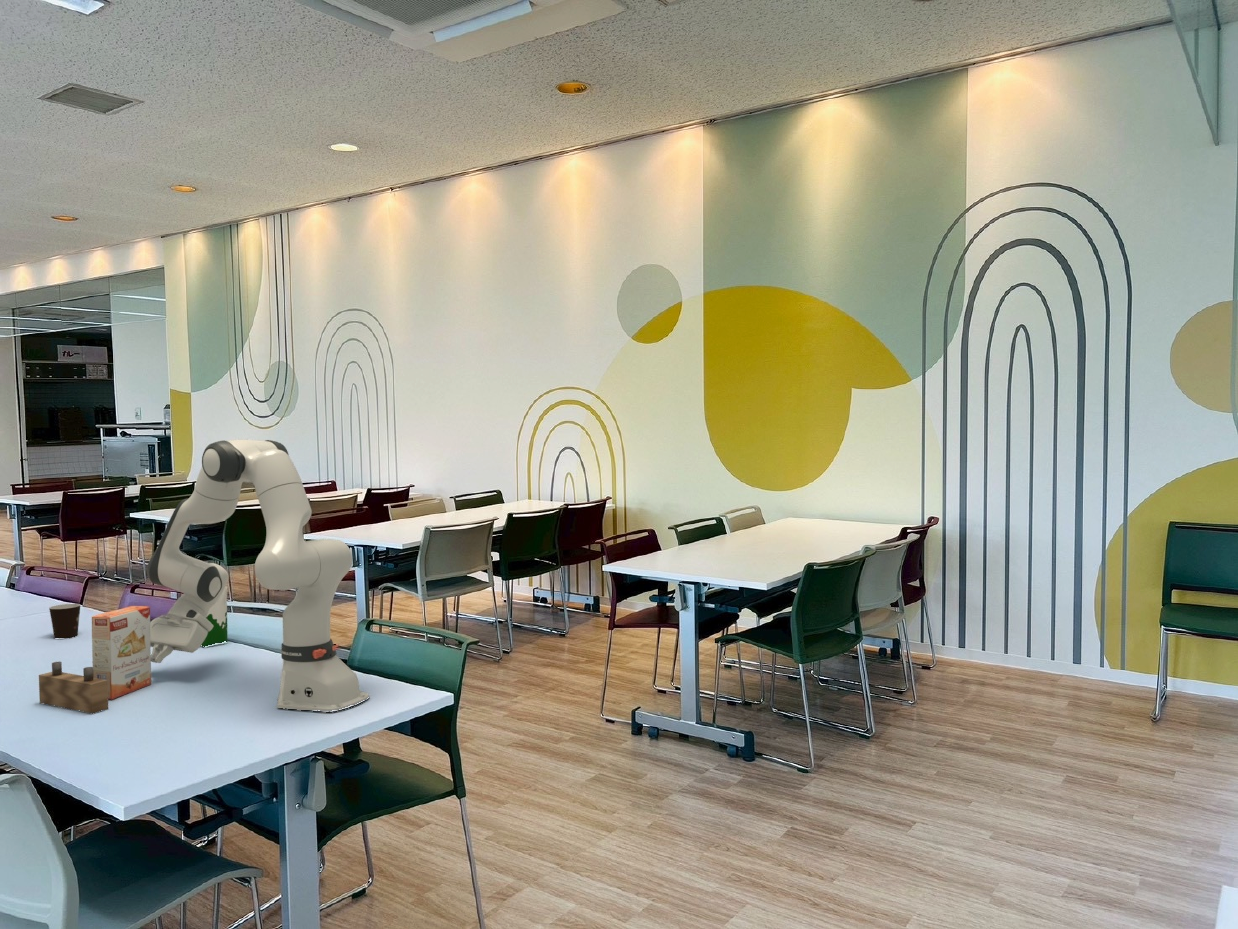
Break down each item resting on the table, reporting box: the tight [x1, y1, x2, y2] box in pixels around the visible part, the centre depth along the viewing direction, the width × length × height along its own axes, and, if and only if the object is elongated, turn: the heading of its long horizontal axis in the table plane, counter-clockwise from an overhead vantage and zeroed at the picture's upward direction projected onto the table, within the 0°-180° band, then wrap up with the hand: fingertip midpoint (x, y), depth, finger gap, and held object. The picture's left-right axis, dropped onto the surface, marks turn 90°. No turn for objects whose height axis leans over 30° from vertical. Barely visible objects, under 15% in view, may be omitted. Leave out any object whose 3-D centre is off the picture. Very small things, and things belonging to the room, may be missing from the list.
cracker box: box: [91, 605, 152, 700], centre depth 227 cm, size 14×6×21 cm, turn 168°
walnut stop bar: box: [38, 661, 109, 715], centre depth 216 cm, size 20×4×10 cm, turn 64°
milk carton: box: [201, 586, 229, 648], centre depth 278 cm, size 9×9×20 cm
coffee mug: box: [49, 603, 81, 639], centre depth 291 cm, size 12×9×10 cm
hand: (154, 661), depth 236 cm, fingers closed
